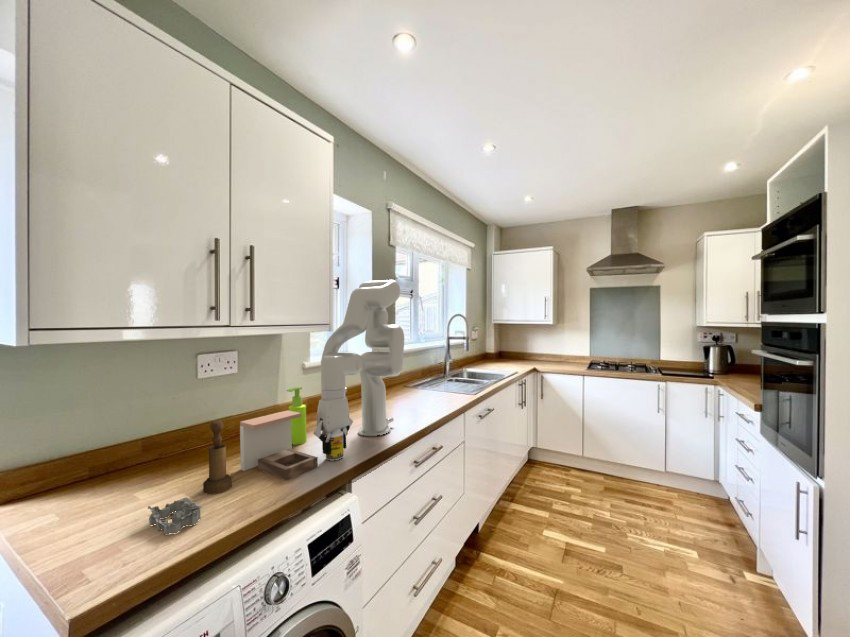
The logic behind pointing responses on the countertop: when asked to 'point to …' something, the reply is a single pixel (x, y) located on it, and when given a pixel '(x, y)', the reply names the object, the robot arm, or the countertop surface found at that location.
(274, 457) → the socket block
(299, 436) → the soap dispenser
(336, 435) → the supplement bottle
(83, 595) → the countertop surface
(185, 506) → the egg carton
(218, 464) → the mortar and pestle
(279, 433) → the pink-topped white panel
